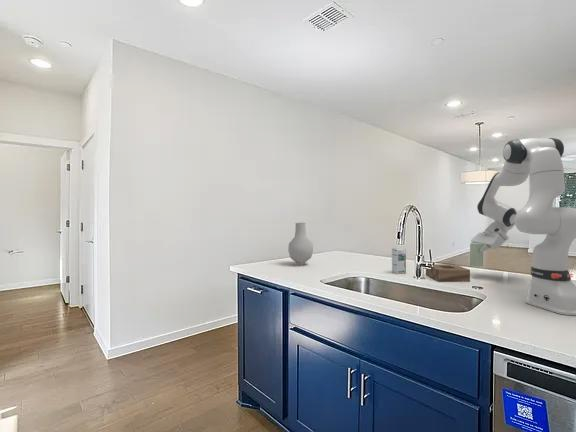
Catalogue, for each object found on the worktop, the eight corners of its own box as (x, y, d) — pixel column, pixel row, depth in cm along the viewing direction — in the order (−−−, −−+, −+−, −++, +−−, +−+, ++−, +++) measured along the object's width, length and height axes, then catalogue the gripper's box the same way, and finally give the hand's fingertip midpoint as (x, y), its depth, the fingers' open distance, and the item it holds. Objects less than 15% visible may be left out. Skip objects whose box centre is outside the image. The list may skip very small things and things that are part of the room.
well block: (469, 281, 171) (470, 269, 170) (439, 281, 170) (439, 270, 170) (453, 274, 187) (453, 264, 186) (425, 275, 186) (425, 264, 186)
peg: (483, 266, 176) (483, 244, 176) (474, 266, 176) (475, 244, 176) (478, 264, 181) (478, 243, 180) (470, 264, 180) (470, 243, 180)
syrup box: (397, 274, 190) (397, 249, 189) (391, 272, 195) (391, 247, 195) (406, 273, 191) (406, 248, 190) (399, 271, 197) (400, 247, 196)
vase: (283, 264, 222) (282, 223, 221) (300, 261, 233) (300, 221, 232) (300, 268, 209) (300, 224, 208) (318, 264, 220) (317, 222, 219)
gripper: (478, 227, 188) (461, 244, 188) (502, 230, 168) (483, 249, 168) (486, 235, 188) (469, 252, 188) (511, 238, 168) (492, 258, 168)
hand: (476, 251), depth 178 cm, fingers closed on peg, 4 cm apart
